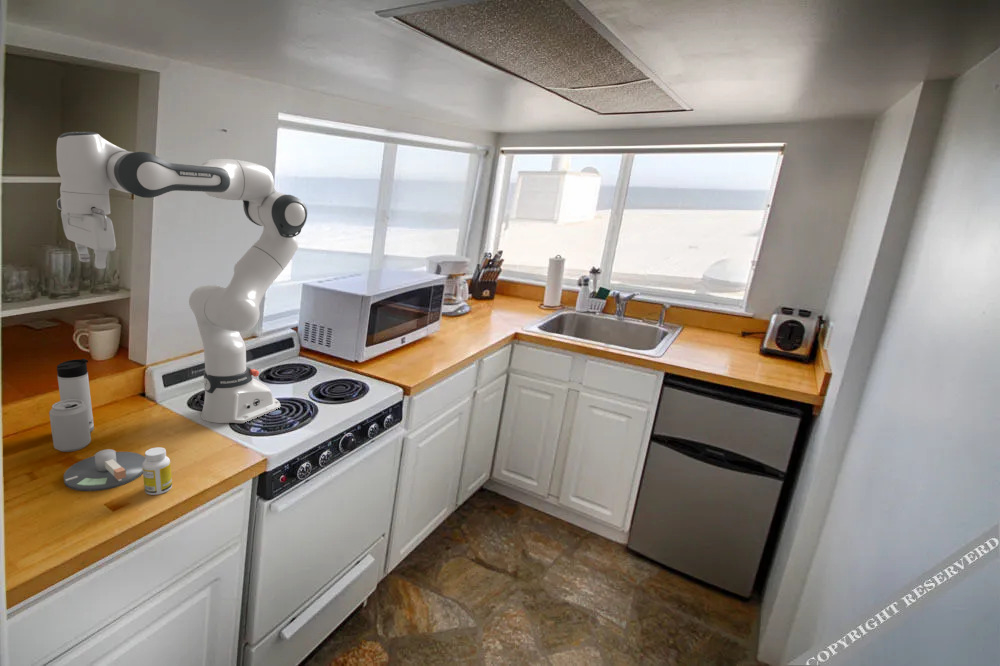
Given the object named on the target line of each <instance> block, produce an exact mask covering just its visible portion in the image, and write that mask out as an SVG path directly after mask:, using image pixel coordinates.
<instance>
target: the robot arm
mask: <svg viewBox="0 0 1000 666" xmlns="http://www.w3.org/2000/svg"><path fill="white" fill-rule="evenodd" d="M56 140H57V141H56V165H57V172H58V174H59V176H60V182H61V183H60V187H59V193H60V197H59V198H58V199H57V200H56V207H57V209H59V210H61V212H60V217H61V222H62V228H63V232H64V235H65V237H66V239H67V240H68V241H71V242H73V243H74V246H75V249H76V251H77V254H78V260H79V262H81V263H89V262H91V255H90V254H89V250H88V248H89V249H91V250H93V253H94V254H95V259H94V261H93V263H94V268H96V269H99V270H100V269H101V270H102V269H106V268H107V264H106V263H107V262H106V261H107V257H108V252H114V251H116V248H117V243H116V236H115V229H114V224H113V221H112V219H111V218H110V217H109V216H107V215H110V214H111V201H110V192H109V191H110V190H111V189H113V190H116V191H120V192H122V193H127V194H131V195H135V196H138V197H141V198H143V199H144V198H147V199H149V198H155V197H159V196H161V195H164V194H167V193H169V192H174V191H175V192H176V191H179V192H181V191H182V192H201V193H202V192H203V193H205V194H206V195H207V196H209V197H212V198H215V199H221V200H226V201H228V200H230V201H242V202H243V203H242V204H243V205H242V206H243V212H244V214H245V216H246V218H247V219H248V220H249V221H250V222H251V223H253V224H255V225H257V226H259V227H263V229H262V233H261V235H260V237H259V239H257V240H256V241H255V242H254V244H252V246H251V247H250V248H249V249H248V250H247V251H246V252H245V253H244V255H242V257H241V258H240V259H239V260H238V261H237V262H236V263H235V264H234V267H233V276H232V278H231V280H230V282H229V284H228V285H227V286H226V287H223V286H220V285H216V284H214V285H213V284H210V285H209V284H207V285H201V286H199V287H196V288H195V289H194V290H193V291H192V292H191V294H190V296H189V299H188V303H189V304H188V305H189V307H190V309H191V311H192V312H193V315H194V317H195V320H196V323H197V327H198V330H199V333H200V337H201V341H202V346H203V356H204V371H203V387H204V388H203V389H204V391H205V392H204V401H203V407H202V411H201V414H200V417H201V418H202V419H203V420H205V421H207V422H211V423H218V424H225V423H226V424H227V423H229V424H230V423H235V424H245V422H246V423H248V422H249V421H253V420H255V419H257V417H258V418H260V417H262V416H265V415H267V414H270V413H272V412H274V411H277V410H279V409H281V408H280V407H282V406H281V403H280V401H279V400H278V399H277V398H275V397H274V396H273V393H272V390H271V389H270V387H269V386H268V385H266V384H264V383H262V382H261V381H259V380H257V379H255V378H257V377H259V374H260V372H259V370H257V369H255V368H253V369H252V368H251V367H248V366H247V347H246V343H245V340H244V339H243V338H242V335H241V333H240V332H242V333H244V332H248V331H250V330H252V329H253V328H254V327H255V326H256V325H257V324H258V321H259V319H260V317H261V316H260V315H261V313H260V306H261V302H262V300H263V298H264V296H265V294H266V292H267V291H268V289H269V287H270V286H271V285H272V284H273V283H274V282H275V280H276V279H277V278H278V277H279V276H280V274H281V273H282V272H283V271H284V270H285V268H286V267H287V266H288V265H289V263H290V262H291V260H292V259H293V257H294V255H295V254H296V252H297V251H298V248H299V247H298V246H299V242H298V239H297V238H296V237H297V236H298V235H299V234H301V232H302V229H303V227H304V226H305V224H306V221H307V218H308V209H307V207H306V206H307V205H305V203H304V201H302V200H301V199H300V198H298V197H296V196H294V195H291V194H286V193H283V192H277V191H276V189H275V179H274V177H273V176H274V175H273V174H272V172H271V170H269V169H268V167H266V166H264V165H261V164H259V163H255V162H250V161H248V160H247V161H246V160H242V159H240V160H239V159H234V158H233V159H232V158H213V159H212V158H211V159H207V160H205V161H203V163H202V164H201V165H197V164H196V165H195V164H185V163H183V164H182V163H172V162H169V161H167V160H164V159H163V158H161V157H158V156H157V155H154V154H152V153H150V152H145V151H129V150H127V149H124V148H122V147H119V146H117V145H115V144H113V143H112V142H110V141H108V140H107V139H106V138H104V137H102V136H101V135H100V134H99V133H97V132H94V131H70V132H69V131H68V132H64V133H62V134H60V135H59V136H58V138H57V139H56ZM253 377H255V378H253ZM278 408H279V409H278ZM276 409H277V410H276ZM269 412H270V413H269ZM264 414H265V415H264ZM252 419H253V420H252ZM247 421H248V422H247Z"/></svg>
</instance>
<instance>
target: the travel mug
mask: <svg viewBox="0 0 1000 666" xmlns="http://www.w3.org/2000/svg"><path fill="white" fill-rule="evenodd" d="M88 363H89V360H87V358H79V359H77V358H76V359H70V360H66V361H63V362H60V363H59V364H57V366H56V372H57V383H58V389H59V391H58V392H59V398H60V400H59V401H64V400H70V399H77V400H82V401H83V402H84V403H83V404H85V405H86V406H87V409H88V418H89V426H90V433H92V432H93V431H94V430H95V425H94V416H93V407H92V399H91V398H92V397H91V388H90V380H89V371H88Z"/></svg>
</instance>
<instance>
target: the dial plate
mask: <svg viewBox="0 0 1000 666" xmlns="http://www.w3.org/2000/svg"><path fill="white" fill-rule="evenodd" d="M145 460H146V459H145V455H143V454H140V453H137V452H131V451H116V461H117V463H118V464H119V465H120V466H121V467H123V468H124V469H125V471H126V477H125V478H122V479H119V480H117V479H116V478H115V477H114V476H113V475H112V474H111V473H110V472H109V471H97V470H96V463H95V455H93V456H89V457H87V458H84V459H82V460H80V461H78V462H76V463H74V464H72V465H71V466H69V467H68V468H67V469H66V470H65V472H64V474H63V482H64V485H65V487H67V488H69V489H70V490H73V491H78V492H97V491H99V492H100V491H106V490H111V489H114V488H118V487H122V486H124V485H126V484H130V483H131V482H133V481H135V480H136V479H138V478H140V477H141V476H143V469H142V464H143V462H144V461H145Z"/></svg>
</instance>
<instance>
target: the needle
mask: <svg viewBox="0 0 1000 666" xmlns="http://www.w3.org/2000/svg"><path fill="white" fill-rule="evenodd" d="M116 452H117V451H116V450H114V449H111V448H110V449H109V448H108V449H103V450H99V451H98V452H96V453H95V454H94V456H95V463H96V470H97V471H109V472H110V473H111V474H112V475H113V476H114V477H115V478H116V479H117V480H119V479H122V478H125V477H126V471H125V469H124V468H123V467H121V466H120V465H119V464H118V463H117V461H116Z"/></svg>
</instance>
